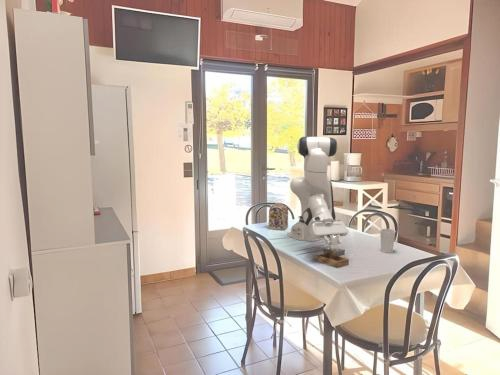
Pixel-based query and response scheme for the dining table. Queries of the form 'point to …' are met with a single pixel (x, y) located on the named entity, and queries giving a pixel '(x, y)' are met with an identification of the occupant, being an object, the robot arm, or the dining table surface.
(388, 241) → the cup
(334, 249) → the steel cell
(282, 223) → the decorative jar
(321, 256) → the brown wooden shallow tray
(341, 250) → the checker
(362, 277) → the dining table surface
